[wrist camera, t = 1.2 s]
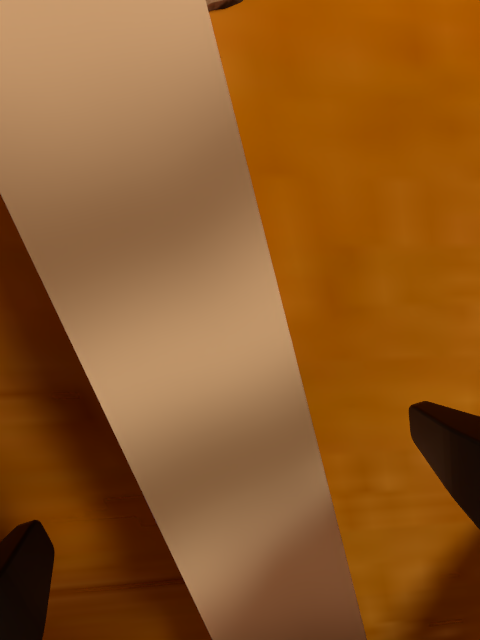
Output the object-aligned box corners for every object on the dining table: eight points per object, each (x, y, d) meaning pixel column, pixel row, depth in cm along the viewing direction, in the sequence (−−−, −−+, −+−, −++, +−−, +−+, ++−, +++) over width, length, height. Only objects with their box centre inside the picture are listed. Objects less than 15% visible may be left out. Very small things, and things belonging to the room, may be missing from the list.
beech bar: (323, 558, 17) (381, 698, 12) (237, 590, 16) (263, 746, 12) (176, 37, 10) (179, -105, 5) (26, 77, 10) (-109, -36, 5)
